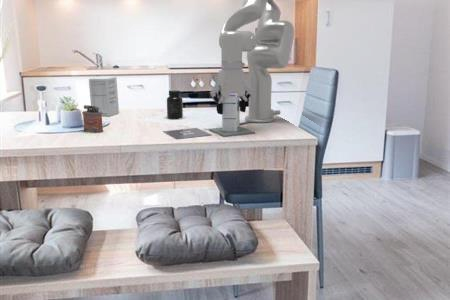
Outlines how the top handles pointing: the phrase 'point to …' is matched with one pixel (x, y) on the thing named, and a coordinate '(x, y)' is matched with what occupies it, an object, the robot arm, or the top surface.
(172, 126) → the top surface
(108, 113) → the supplement box
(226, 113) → the syrup box
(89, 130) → the lighter
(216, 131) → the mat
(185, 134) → the card
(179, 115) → the supplement bottle
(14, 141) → the top surface
